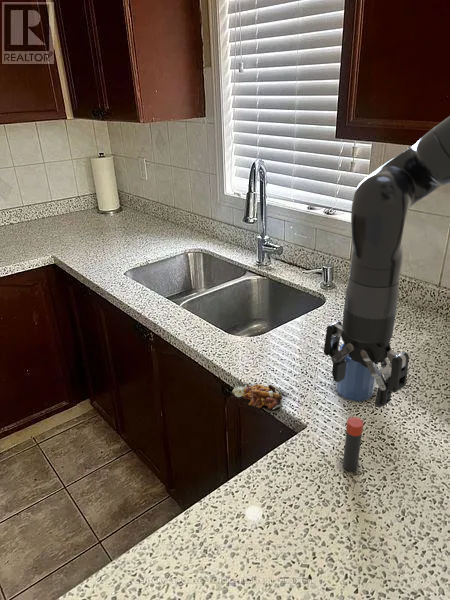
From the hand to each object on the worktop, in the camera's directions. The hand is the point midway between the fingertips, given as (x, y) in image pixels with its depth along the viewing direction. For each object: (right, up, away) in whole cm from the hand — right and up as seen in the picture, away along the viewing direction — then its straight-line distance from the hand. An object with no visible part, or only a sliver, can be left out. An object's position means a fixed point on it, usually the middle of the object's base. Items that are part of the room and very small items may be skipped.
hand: (358, 391), depth 74 cm
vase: (+7, -6, +28) cm, 29 cm away
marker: (+1, -16, +8) cm, 18 cm away
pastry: (-15, -7, +27) cm, 31 cm away
